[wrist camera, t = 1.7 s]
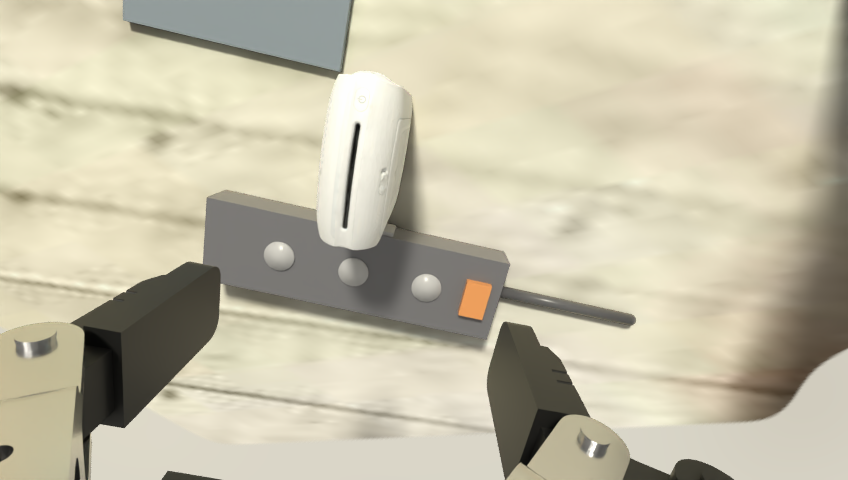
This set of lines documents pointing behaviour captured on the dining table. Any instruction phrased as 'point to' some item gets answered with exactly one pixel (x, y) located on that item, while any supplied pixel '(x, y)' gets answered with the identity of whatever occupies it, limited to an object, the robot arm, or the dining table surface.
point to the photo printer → (361, 158)
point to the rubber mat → (255, 25)
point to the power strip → (366, 268)
